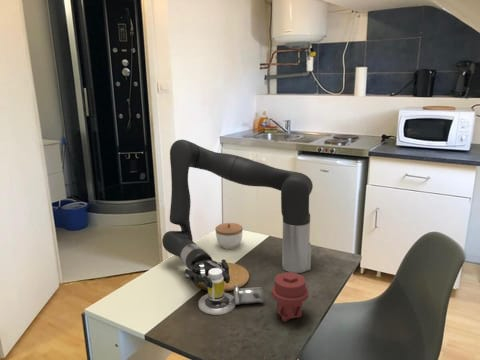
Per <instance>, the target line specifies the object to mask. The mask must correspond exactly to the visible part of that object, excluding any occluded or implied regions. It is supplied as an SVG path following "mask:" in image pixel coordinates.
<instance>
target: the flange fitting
mask: <svg viewBox="0 0 480 360" xmlns="http://www.w3.org/2000/svg"><path fill="white" fill-rule="evenodd" d="M258 303H259V304H260V303H261V304H262V303H264V290H263V287H262V286H258V287H257V286H256V287H255V286H254V287H244V288H242V287H241V288H239V284H233V295H232V294H231V293H228V292H225V291H224V298H223V299H222V300H219V301H212V300H210V299H209V297H208V293H206V294H205V295H203V296H201V298H200V299H199V300H198V309H199V311H201V312H202V313H203V314H206V315H209V314H210V315H211V316H223V315H225V314H229V313H230V312H232V311H233V310H234V309H235V308H236V305H238V306H239V305H247V304H258Z"/></svg>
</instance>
